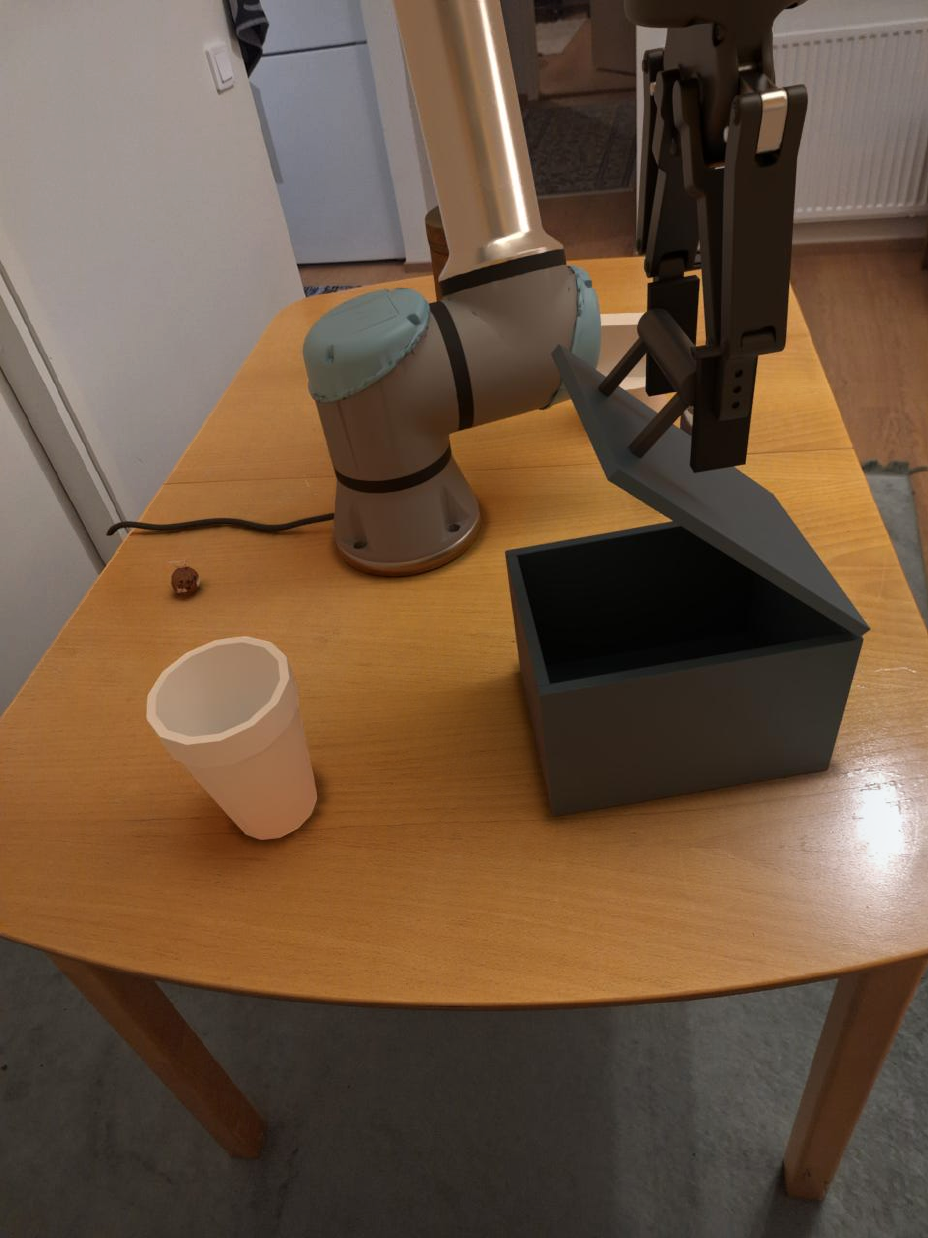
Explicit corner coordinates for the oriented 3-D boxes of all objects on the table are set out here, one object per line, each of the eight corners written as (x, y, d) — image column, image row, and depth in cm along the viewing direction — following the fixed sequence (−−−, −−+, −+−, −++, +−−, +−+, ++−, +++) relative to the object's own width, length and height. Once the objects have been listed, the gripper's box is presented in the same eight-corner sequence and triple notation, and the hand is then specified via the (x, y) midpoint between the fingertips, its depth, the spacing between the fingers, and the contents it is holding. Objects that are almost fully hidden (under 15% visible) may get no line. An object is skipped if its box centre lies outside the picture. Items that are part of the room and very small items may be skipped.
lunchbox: (553, 817, 57) (539, 695, 48) (520, 670, 68) (504, 550, 59) (828, 769, 56) (864, 639, 48) (751, 630, 67) (769, 503, 59)
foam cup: (342, 747, 64) (298, 629, 55) (332, 850, 57) (279, 733, 48) (226, 761, 65) (164, 646, 56) (202, 864, 58) (127, 751, 49)
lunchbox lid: (607, 480, 39) (702, 374, 35) (550, 353, 49) (619, 264, 46) (860, 638, 48) (953, 565, 45) (765, 502, 59) (835, 436, 56)
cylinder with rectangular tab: (583, 437, 93) (578, 338, 85) (592, 399, 100) (589, 303, 92) (662, 438, 91) (666, 335, 83) (667, 399, 97) (671, 300, 89)
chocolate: (171, 601, 81) (156, 571, 79) (177, 587, 83) (162, 557, 80) (200, 598, 81) (185, 568, 78) (205, 584, 83) (191, 553, 80)
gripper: (571, -99, 38) (586, 358, 53) (719, -101, 23) (681, 545, 38) (728, -127, 38) (698, 339, 53) (987, -149, 22) (840, 518, 38)
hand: (691, 424), depth 45 cm, fingers closed on lunchbox lid, 8 cm apart
